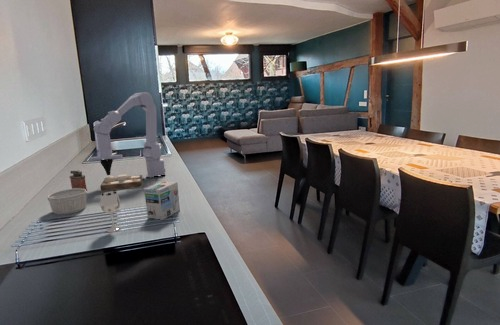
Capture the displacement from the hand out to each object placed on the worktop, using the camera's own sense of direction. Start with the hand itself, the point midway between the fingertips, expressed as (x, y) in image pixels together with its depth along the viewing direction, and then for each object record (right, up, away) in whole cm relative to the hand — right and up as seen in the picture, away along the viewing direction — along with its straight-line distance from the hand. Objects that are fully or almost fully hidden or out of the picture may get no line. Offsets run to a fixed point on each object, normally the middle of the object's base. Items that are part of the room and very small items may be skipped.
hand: (108, 174), depth 163 cm
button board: (+7, -5, +1) cm, 8 cm away
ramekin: (-1, -13, -33) cm, 35 cm away
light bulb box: (+38, -13, -44) cm, 59 cm away
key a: (+12, -4, +4) cm, 13 cm away
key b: (+6, -3, +2) cm, 7 cm away
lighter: (-11, -8, -6) cm, 15 cm away
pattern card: (+8, -3, -4) cm, 9 cm away
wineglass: (+25, -16, -55) cm, 63 cm away
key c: (0, -4, +1) cm, 4 cm away
